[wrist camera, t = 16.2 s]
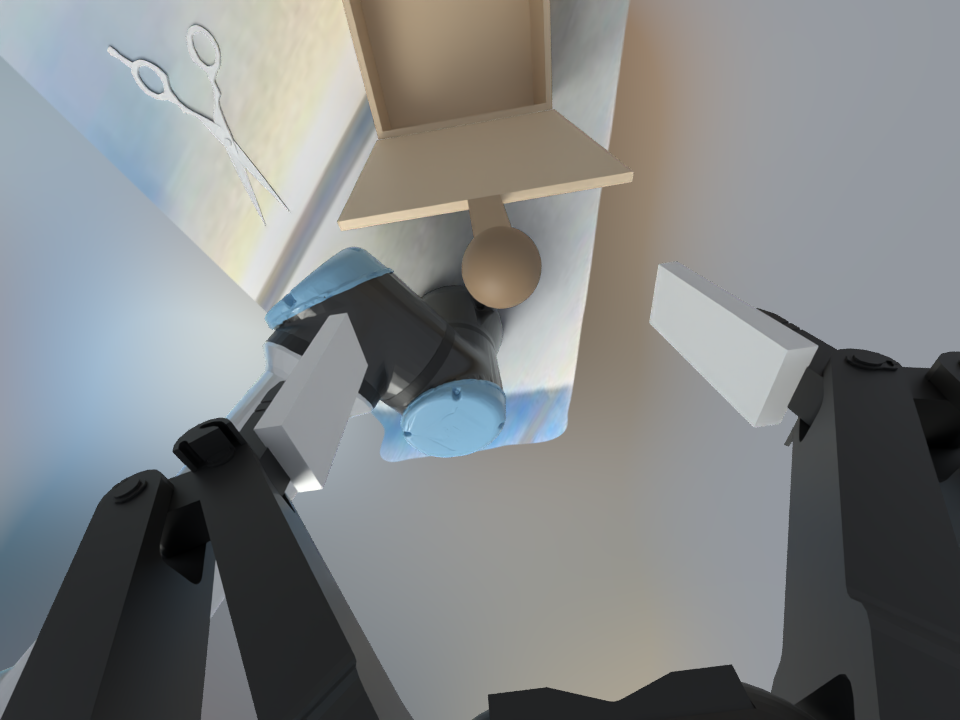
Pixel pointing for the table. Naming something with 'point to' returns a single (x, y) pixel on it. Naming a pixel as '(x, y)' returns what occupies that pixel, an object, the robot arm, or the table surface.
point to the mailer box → (451, 61)
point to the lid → (483, 189)
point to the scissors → (216, 127)
